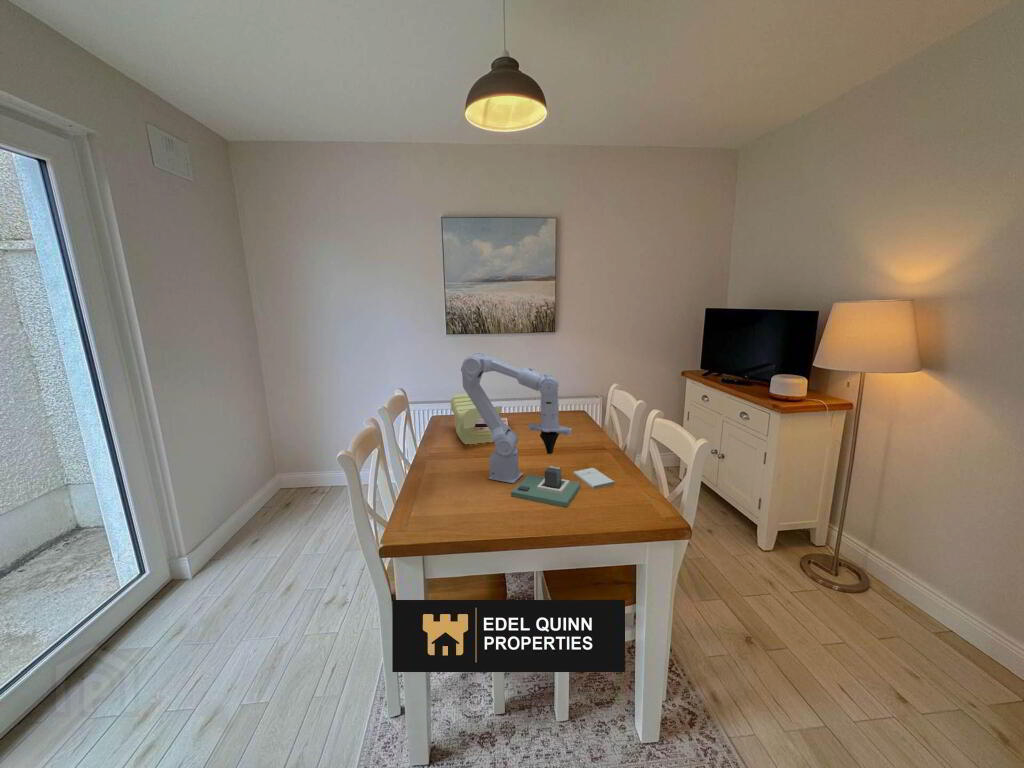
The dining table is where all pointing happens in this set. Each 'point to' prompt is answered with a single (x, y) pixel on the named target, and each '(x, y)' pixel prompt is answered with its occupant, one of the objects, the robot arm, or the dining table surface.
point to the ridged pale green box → (469, 420)
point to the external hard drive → (593, 478)
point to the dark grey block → (553, 477)
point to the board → (546, 491)
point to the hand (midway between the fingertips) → (550, 453)
